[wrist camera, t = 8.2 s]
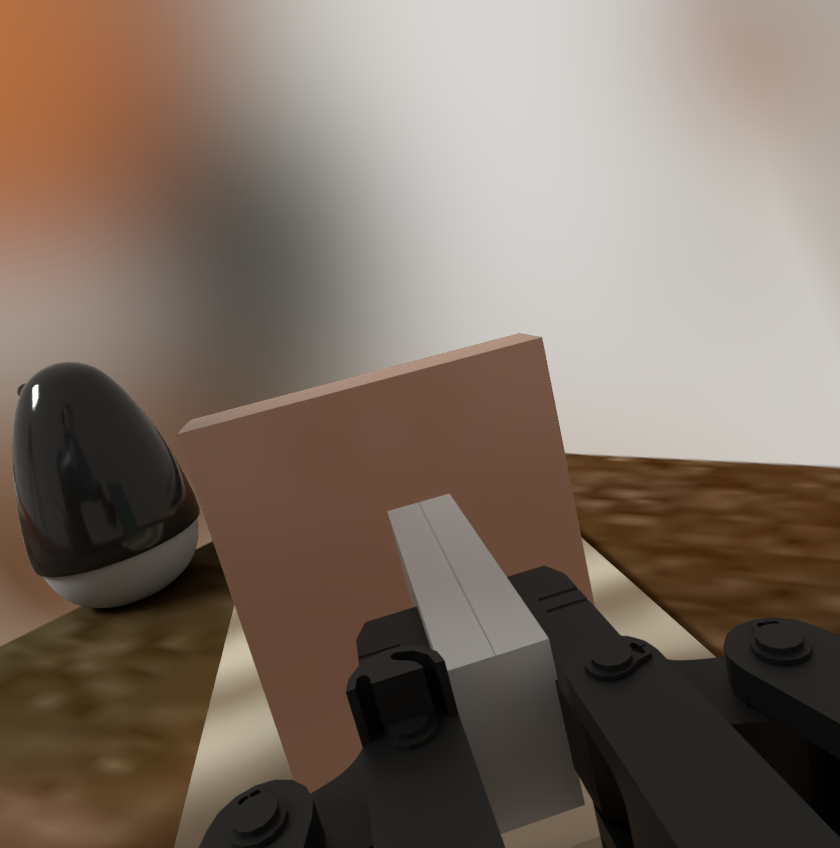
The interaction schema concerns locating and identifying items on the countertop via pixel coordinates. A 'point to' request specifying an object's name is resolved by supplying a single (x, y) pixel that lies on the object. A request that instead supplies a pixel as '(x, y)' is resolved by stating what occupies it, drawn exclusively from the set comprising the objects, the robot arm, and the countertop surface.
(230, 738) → the cloth
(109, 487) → the black glossy egg shape
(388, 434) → the tile
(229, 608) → the countertop surface
